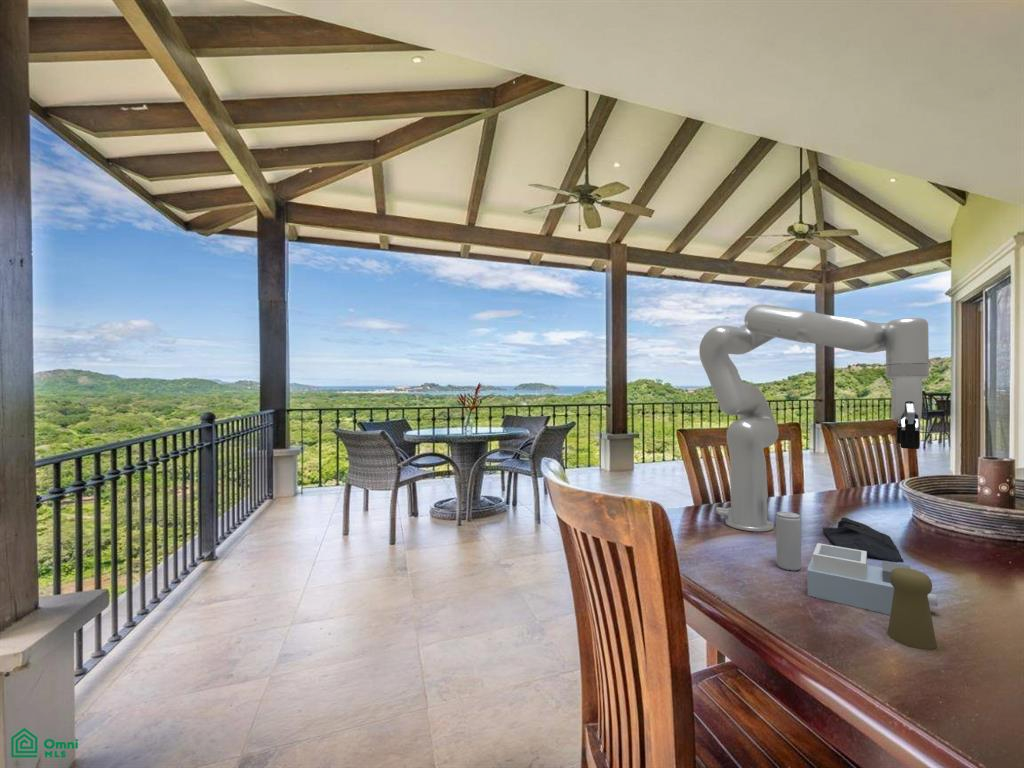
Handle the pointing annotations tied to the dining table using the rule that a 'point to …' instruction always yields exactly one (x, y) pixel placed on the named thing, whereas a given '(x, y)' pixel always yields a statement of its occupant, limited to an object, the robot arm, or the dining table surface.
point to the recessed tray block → (852, 579)
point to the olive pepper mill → (911, 609)
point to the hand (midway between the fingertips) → (907, 446)
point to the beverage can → (788, 540)
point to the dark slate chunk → (863, 540)
